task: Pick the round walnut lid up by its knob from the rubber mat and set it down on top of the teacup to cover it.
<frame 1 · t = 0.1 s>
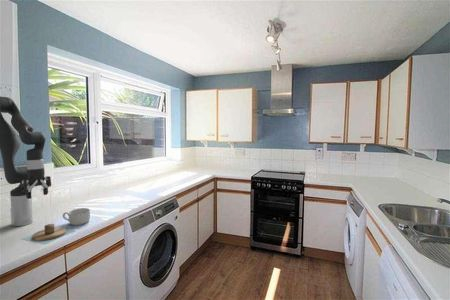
hand: (37, 196, 132), 17 cm above the countertop, tool pointing down, fingers open, 8 cm apart
mat: (49, 236, 120), on the countertop
teacup: (77, 224, 137), on the countertop
lid: (49, 234, 120), point 1 cm above the countertop, touching mat
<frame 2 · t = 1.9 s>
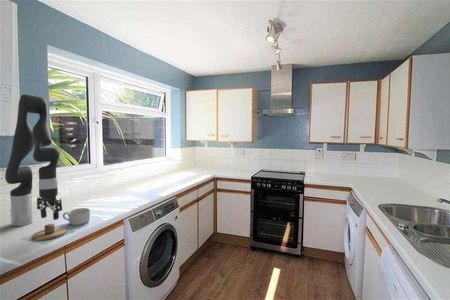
hand: (49, 218, 120), 10 cm above the countertop, tool pointing down, fingers open, 8 cm apart
nothing on the countertop moved.
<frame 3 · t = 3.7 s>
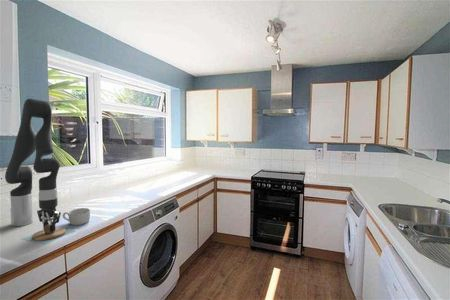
hand: (49, 230, 120), 3 cm above the countertop, tool pointing down, fingers closed on lid, 4 cm apart
lid: (49, 234, 120), point 1 cm above the countertop, touching gripper, mat
everything else where it was.
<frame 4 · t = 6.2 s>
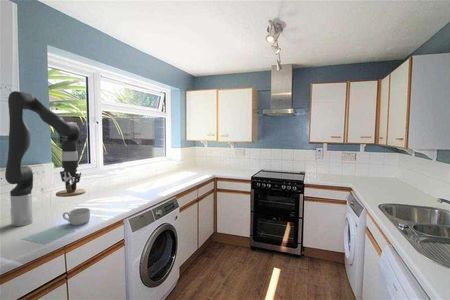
hand: (71, 189, 132), 21 cm above the countertop, tool pointing down, fingers closed on lid, 4 cm apart
lid: (71, 193, 132), point 19 cm above the countertop, touching gripper
everything else where it was.
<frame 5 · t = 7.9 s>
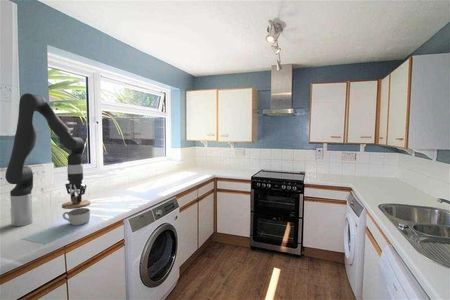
hand: (76, 201, 136), 14 cm above the countertop, tool pointing down, fingers closed on lid, 4 cm apart
lid: (76, 205, 136), point 11 cm above the countertop, touching gripper
everything else where it was.
when the fingers open (12 cm above the countertop, at t = 9.0 s): lid drops 2 cm, resting on teacup.
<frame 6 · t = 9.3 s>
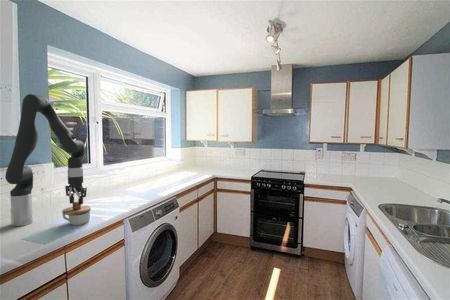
hand: (76, 203, 136), 12 cm above the countertop, tool pointing down, fingers open, 6 cm apart
teacup: (77, 224, 137), on the countertop, touching lid
lid: (76, 210, 137), point 8 cm above the countertop, touching teacup
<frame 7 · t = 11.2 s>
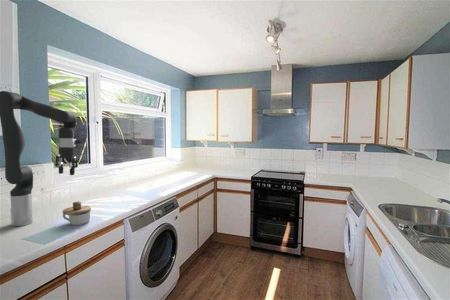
hand: (66, 174, 135), 29 cm above the countertop, tool pointing down, fingers open, 8 cm apart
nothing on the countertop moved.
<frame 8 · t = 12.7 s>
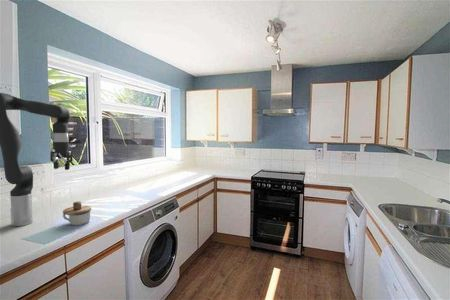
hand: (61, 169, 135), 32 cm above the countertop, tool pointing down, fingers open, 8 cm apart
nothing on the countertop moved.
at the end: lid 0.3 cm from the teacup (horizontally); lid point 7.9 cm above the countertop; teacup tilted 0° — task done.
